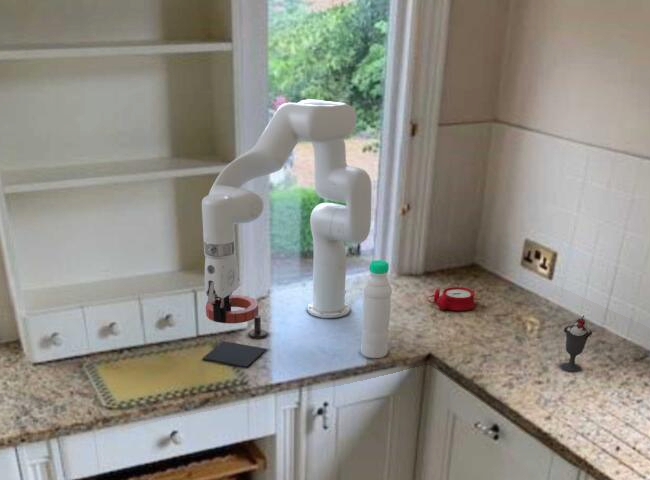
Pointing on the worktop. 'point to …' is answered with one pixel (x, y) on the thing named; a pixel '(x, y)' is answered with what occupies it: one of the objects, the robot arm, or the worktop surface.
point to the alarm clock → (454, 299)
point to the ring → (240, 315)
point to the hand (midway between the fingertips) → (222, 318)
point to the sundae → (575, 343)
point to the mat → (234, 354)
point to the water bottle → (376, 311)
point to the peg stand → (257, 329)
